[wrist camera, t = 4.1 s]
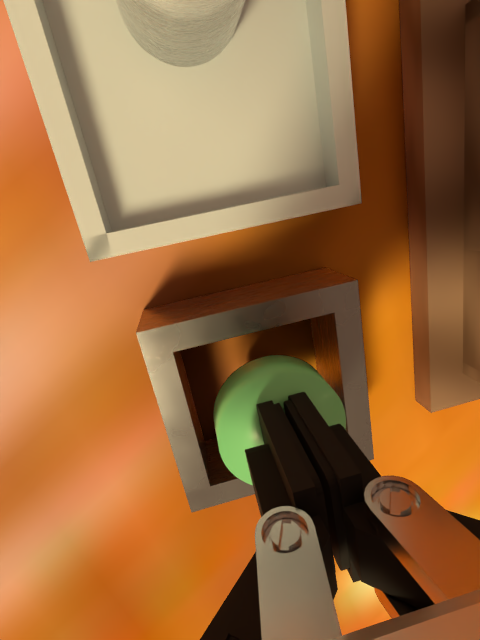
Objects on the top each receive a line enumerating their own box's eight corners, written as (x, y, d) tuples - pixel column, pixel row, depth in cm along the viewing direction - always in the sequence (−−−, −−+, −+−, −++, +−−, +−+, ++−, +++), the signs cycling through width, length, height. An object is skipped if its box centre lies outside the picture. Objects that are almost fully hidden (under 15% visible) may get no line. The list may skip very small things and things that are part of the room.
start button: (197, 346, 15) (204, 393, 11) (299, 321, 15) (339, 358, 11) (219, 434, 16) (232, 503, 12) (311, 409, 17) (351, 468, 13)
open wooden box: (143, 309, 15) (136, 333, 12) (325, 267, 16) (357, 279, 13) (189, 463, 18) (191, 512, 15) (343, 420, 18) (373, 458, 16)
